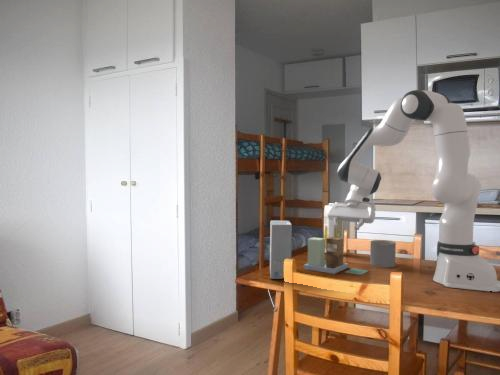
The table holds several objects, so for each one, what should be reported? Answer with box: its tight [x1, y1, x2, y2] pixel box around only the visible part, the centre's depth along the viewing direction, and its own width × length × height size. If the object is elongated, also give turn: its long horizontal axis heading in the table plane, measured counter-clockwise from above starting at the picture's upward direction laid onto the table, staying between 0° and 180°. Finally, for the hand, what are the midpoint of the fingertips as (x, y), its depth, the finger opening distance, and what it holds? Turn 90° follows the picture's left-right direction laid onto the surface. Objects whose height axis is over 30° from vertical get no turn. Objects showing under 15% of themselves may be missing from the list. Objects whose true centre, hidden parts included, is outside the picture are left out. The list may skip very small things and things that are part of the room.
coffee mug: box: [369, 239, 397, 268], centre depth 185 cm, size 13×10×10 cm
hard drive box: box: [269, 220, 293, 280], centre depth 168 cm, size 16×8×20 cm, turn 179°
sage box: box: [307, 236, 326, 267], centre depth 176 cm, size 5×5×12 cm
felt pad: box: [344, 267, 369, 276], centre depth 172 cm, size 7×8×1 cm
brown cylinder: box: [325, 237, 344, 269], centre depth 177 cm, size 5×5×12 cm
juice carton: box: [323, 202, 345, 254], centre depth 209 cm, size 9×8×24 cm
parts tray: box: [303, 259, 349, 275], centre depth 177 cm, size 13×13×2 cm
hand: (345, 228), depth 186 cm, fingers open, 8 cm apart
